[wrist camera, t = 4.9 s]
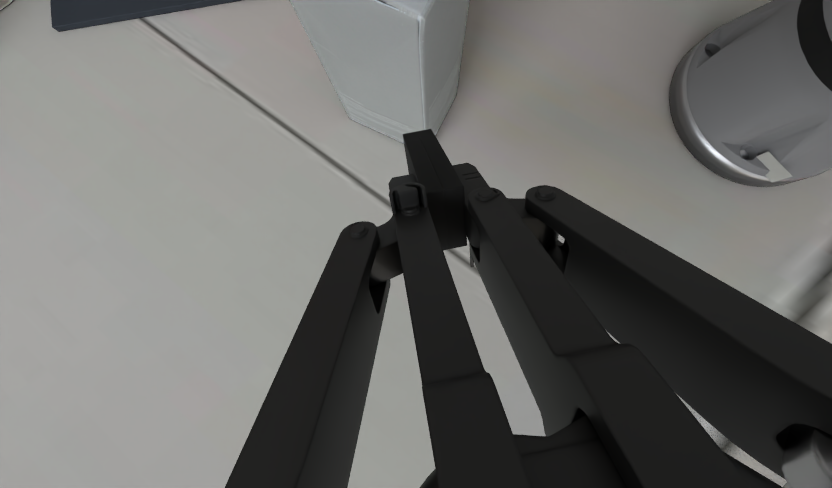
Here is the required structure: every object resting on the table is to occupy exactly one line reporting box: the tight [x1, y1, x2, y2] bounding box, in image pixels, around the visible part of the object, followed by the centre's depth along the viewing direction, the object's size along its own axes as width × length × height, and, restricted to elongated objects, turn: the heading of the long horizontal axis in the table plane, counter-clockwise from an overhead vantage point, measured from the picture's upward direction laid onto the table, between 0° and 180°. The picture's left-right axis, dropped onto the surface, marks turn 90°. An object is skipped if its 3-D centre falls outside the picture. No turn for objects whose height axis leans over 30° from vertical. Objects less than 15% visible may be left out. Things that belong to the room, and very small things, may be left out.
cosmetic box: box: [290, 0, 470, 143], centre depth 22 cm, size 8×7×16 cm
